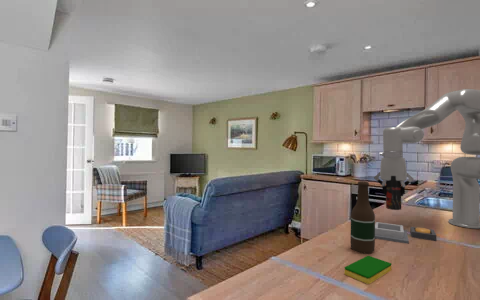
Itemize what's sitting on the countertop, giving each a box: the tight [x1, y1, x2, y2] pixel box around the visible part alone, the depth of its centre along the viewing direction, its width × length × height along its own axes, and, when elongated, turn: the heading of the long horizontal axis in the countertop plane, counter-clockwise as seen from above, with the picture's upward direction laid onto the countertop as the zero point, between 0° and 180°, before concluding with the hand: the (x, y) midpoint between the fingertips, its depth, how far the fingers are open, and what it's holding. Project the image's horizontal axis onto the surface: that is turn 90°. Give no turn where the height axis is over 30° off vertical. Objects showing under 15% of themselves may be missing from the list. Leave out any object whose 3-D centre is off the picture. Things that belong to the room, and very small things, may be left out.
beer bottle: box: [350, 180, 376, 255], centre depth 93 cm, size 8×8×24 cm
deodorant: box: [385, 176, 402, 211], centre depth 119 cm, size 6×6×15 cm
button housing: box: [409, 226, 437, 242], centre depth 108 cm, size 8×8×2 cm
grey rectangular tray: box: [375, 221, 410, 245], centre depth 108 cm, size 14×13×4 cm
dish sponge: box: [343, 255, 393, 285], centre depth 77 cm, size 7×14×2 cm, turn 127°
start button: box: [415, 226, 430, 233], centre depth 108 cm, size 5×5×2 cm
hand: (393, 194), depth 119 cm, fingers closed on deodorant, 5 cm apart
